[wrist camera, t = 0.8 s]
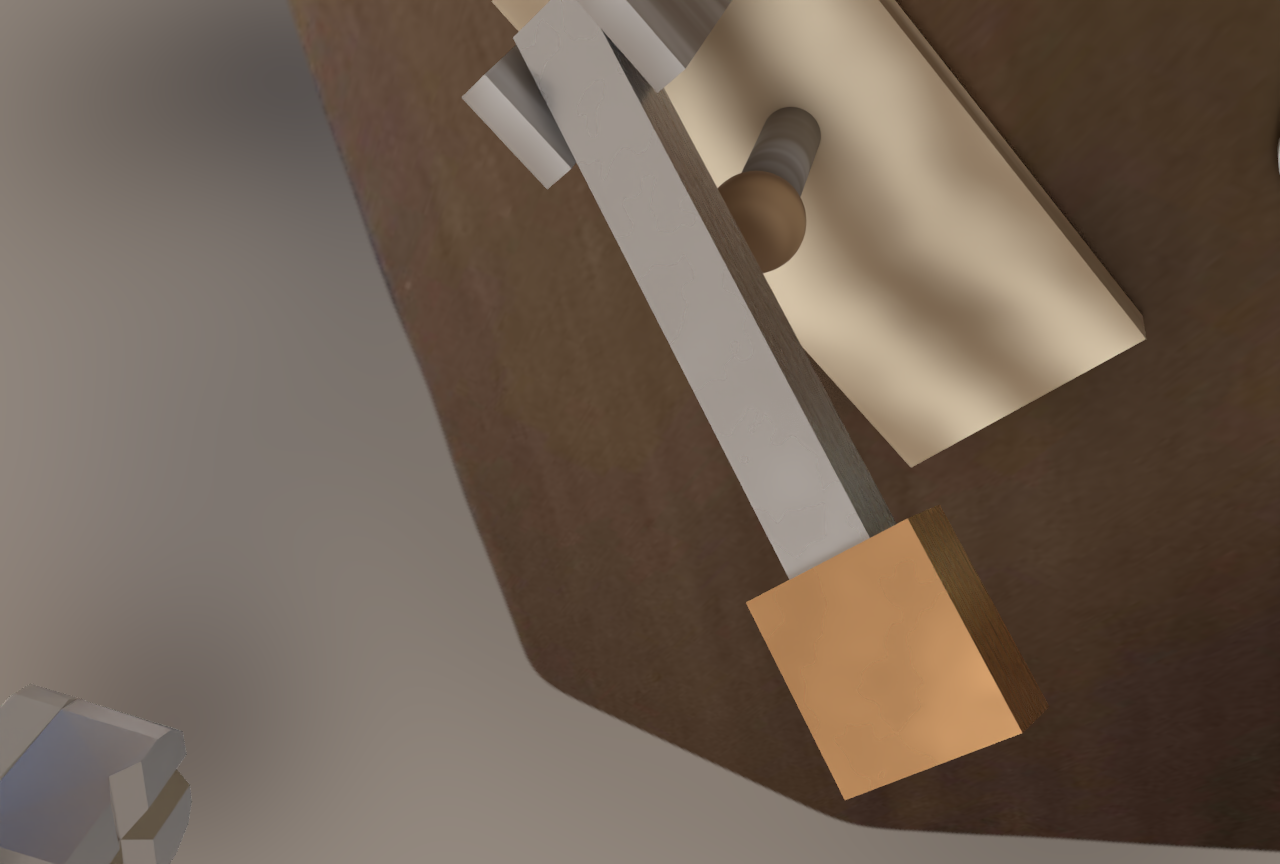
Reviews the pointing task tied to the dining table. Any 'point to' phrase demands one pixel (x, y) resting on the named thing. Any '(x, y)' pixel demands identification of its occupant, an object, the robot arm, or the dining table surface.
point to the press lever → (788, 448)
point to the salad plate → (1279, 151)
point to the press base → (860, 202)
